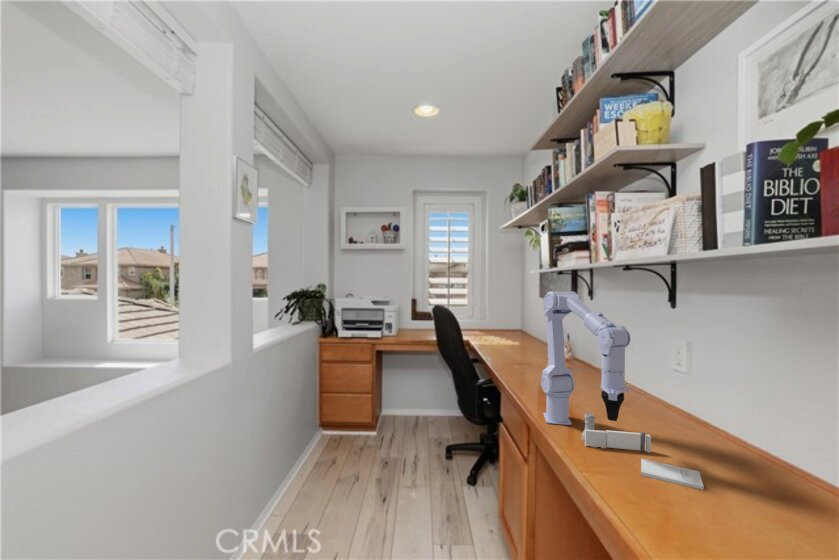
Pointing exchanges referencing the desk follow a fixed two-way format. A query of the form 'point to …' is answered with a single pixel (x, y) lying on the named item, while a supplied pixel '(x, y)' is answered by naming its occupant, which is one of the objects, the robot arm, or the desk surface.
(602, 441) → the wall
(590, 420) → the rook chess piece
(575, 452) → the desk surface
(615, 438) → the door
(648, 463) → the external hard drive
